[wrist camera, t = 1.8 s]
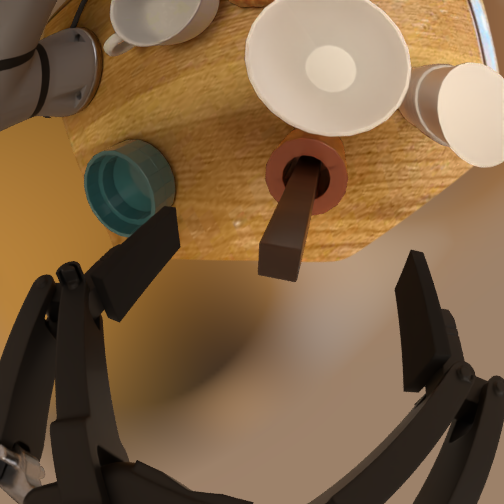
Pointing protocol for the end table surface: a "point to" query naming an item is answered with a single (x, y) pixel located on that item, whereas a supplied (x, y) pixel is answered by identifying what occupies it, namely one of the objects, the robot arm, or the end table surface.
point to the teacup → (157, 22)
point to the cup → (328, 64)
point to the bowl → (128, 185)
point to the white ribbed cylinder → (459, 109)
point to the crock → (330, 173)
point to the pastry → (251, 3)
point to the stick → (290, 223)
